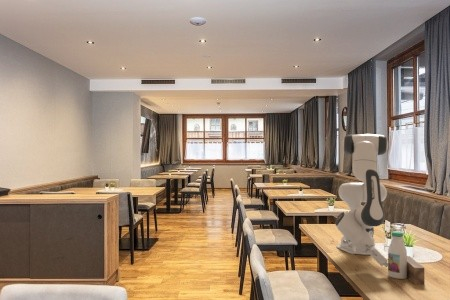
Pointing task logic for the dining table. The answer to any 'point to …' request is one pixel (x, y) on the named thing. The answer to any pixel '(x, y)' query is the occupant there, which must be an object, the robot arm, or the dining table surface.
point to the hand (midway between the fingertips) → (387, 265)
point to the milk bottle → (397, 257)
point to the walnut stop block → (415, 271)
